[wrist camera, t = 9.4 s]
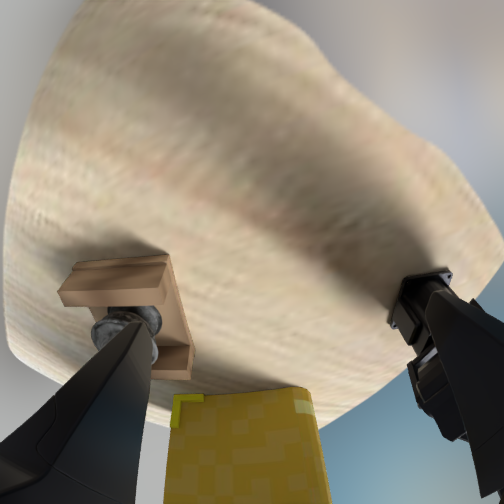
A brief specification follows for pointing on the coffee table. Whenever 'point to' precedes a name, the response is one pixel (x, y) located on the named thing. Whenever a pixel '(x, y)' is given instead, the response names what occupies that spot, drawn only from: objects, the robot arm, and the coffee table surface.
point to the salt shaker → (120, 318)
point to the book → (245, 449)
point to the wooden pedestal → (137, 303)
